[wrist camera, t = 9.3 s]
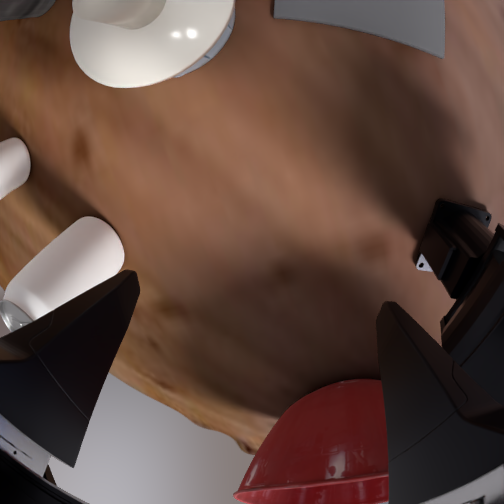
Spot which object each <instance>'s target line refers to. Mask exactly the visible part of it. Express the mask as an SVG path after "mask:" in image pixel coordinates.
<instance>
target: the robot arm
mask: <svg viewBox="0 0 504 504" xmlns="http://www.w3.org/2000/svg"><path fill="white" fill-rule="evenodd" d="M442 203H443V206H442V207H440V206H441V204H442ZM486 217H487V218H486ZM490 221H491V214H490V213H489V212H487V211H484V210H481V209H478V208H474V207H471V206H468V205H464V204H461V203H457V202H453V201H450V200H446V199H439V200H438V201H437V202H436V205H435V208H434V211H433V214H432V217H431V220H430V223H429V224H428V227H427V230H426V233H425V235H424V238H423V241H422V244H421V246H420V251H419V254H418V256H417V259H416V261H415V266H416V268H417V269H418V270H423V271H432V272H434V274H435V276H436V277H437V279H438V280H441V282H442V284H443V285H444V287H445V289H446V291H447V292H448V294H449V296H450V297H451V298H453V299H456V302H455V303H454V305H453V306H452V308H451V309H450V310H449V312H448V313H447V315H446V316H444V317H443V318H442V320H441V321H440V326H441V340H442V347H441V346H440V345H439V344H438V343H437V342H436V341H435V340H434V339H433V338H432V337H431V336H430V335H429V334H428V333H427V332H426V331H425V330H424V329H423V328H422V327H421V326H420V325H419V324H418V323H417V322H416V321H415V320H414V319H413V318H412V317H411V316H410V315H409V314H408V313H407V312H406V311H405V310H404V309H402V308H401V307H400V306H399V305H398V304H397V303H396V302H394V301H385V302H384V303H383V305H382V307H381V310H380V312H379V314H378V316H377V319H376V330H377V347H378V361H379V369H380V376H381V383H382V391H383V399H384V408H385V418H386V430H387V445H388V461H389V462H388V472H389V504H504V226H503V225H501V224H499V223H498V225H497V227H496V229H495V231H496V232H495V234H493V233H492V232H491V231H490V230H489V229H488V226H489V223H490ZM420 263H422V264H421V265H419V264H420ZM139 294H140V286H139V281H138V277H137V273H136V272H135V271H133V270H124V271H122V272H120V273H118V274H116V275H114V276H113V277H111V278H109V279H107V280H105V281H103V282H102V283H100V284H98V285H96V286H94V287H92V288H91V289H89V290H87V291H85V292H83V293H82V294H80V295H78V296H76V297H75V298H73V299H71V300H69V301H68V302H66V303H64V304H62V305H61V306H59V307H57V308H55V309H54V310H52V311H50V312H49V313H47V314H45V315H43V316H42V317H40V318H38V319H36V320H34V321H33V322H31V323H29V324H27V325H25V326H23V327H21V328H19V329H17V330H15V331H13V332H11V333H9V334H7V335H5V336H3V337H1V338H0V504H89V503H87V502H85V501H83V500H81V499H79V498H77V497H75V496H73V495H71V494H70V493H68V492H66V491H64V490H62V489H61V488H59V487H57V485H56V483H55V480H54V478H53V475H52V473H51V470H50V467H49V465H48V462H49V459H50V457H51V456H53V457H54V458H56V459H57V460H59V461H61V462H63V463H65V464H66V465H68V466H70V467H72V468H74V466H75V463H76V460H77V457H78V454H79V451H80V447H81V444H82V441H83V439H84V436H85V432H86V430H87V427H88V424H89V421H90V418H91V415H92V413H93V410H94V407H95V405H96V402H97V400H98V397H99V394H100V392H101V389H102V387H103V384H104V382H105V379H106V377H107V374H108V372H109V370H110V367H111V365H112V363H113V360H114V358H115V356H116V353H117V351H118V349H119V347H120V344H121V342H122V340H123V338H124V335H125V333H126V331H127V329H128V326H129V323H130V320H131V317H132V315H133V312H134V309H135V306H136V303H137V300H138V297H139Z"/></svg>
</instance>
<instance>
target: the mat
mask: <svg viewBox="0 0 504 504" xmlns="http://www.w3.org/2000/svg"><path fill="white" fill-rule="evenodd" d="M274 18H277V19H288V20H298V21H306V22H313V23H320V24H326V25H332V26H337V27H342V28H347V29H351V30H356V31H360V32H364V33H368V34H372V35H376V36H379V37H383V38H386V39H389V40H393V41H396V42H399V43H402V44H405V45H408V46H411V47H413V48H416V49H419V50H421V51H424V52H427V53H429V54H432V55H434V56H436V57H439V58H441V59H443V58H444V49H445V8H444V0H275V6H274Z"/></svg>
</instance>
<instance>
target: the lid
mask: <svg viewBox="0 0 504 504" xmlns="http://www.w3.org/2000/svg"><path fill="white" fill-rule="evenodd" d="M235 1H236V0H73V2H72V7H73V11H74V12H73V15H72V19H71V25H70V45H71V49H72V53H73V55H74V58H75V60H76V62H77V64H78V65H79V67H80V68H81V69H82V70H83V72H84V73H85V74H86V75H88V76H89V77H90V78H91V79H93V80H95V81H97V82H98V83H101V84H104V85H106V86H111V87H118V88H131V87H144V86H149V85H154V84H157V83H160V82H163V81H166V80H168V79H170V78H173V77H175V76H177V75H178V74H180V73H182V72H184V71H185V70H187V69H188V68H190V67H191V66H193V65H194V64H195V63H197V62H198V61H199V60H200V59H201V58H203V57H204V56H205V55H206V54H207V53H208V52H209V51H210V50H211V49H212V48H213V46H214V45H215V44H216V43H217V41H218V40H219V39H220V37H221V36H222V34H223V33H224V31H225V29H226V28H227V26H228V24H229V21H230V19H231V17H232V14H233V11H234V8H235Z"/></svg>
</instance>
